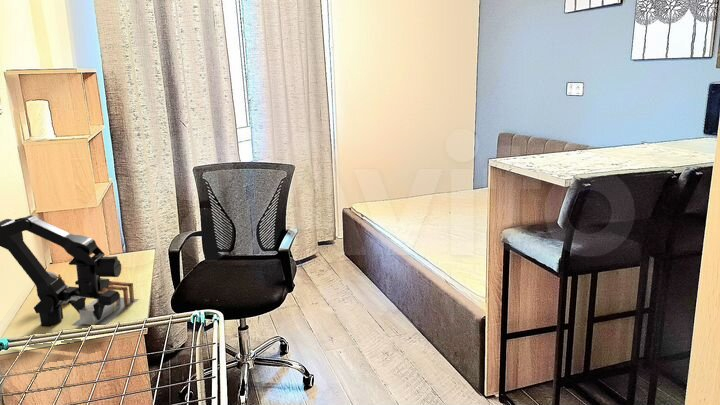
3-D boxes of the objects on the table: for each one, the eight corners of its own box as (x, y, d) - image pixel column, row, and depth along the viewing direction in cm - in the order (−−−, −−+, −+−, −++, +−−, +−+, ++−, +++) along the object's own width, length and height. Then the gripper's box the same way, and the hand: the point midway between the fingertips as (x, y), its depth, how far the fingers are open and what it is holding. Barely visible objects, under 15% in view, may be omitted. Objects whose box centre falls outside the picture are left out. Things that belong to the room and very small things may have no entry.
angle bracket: (132, 302, 188) (131, 284, 186) (109, 299, 189) (108, 282, 188) (134, 301, 189) (132, 283, 187) (111, 298, 190) (109, 280, 189)
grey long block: (94, 325, 170) (93, 310, 169) (79, 323, 171) (78, 309, 170) (121, 306, 184) (120, 293, 183) (107, 305, 185) (106, 291, 184)
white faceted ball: (70, 307, 184) (66, 277, 181) (40, 309, 182) (36, 278, 179) (77, 298, 191) (74, 269, 188) (49, 299, 190) (45, 269, 186)
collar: (127, 306, 185) (125, 288, 183) (103, 304, 186) (102, 285, 184) (128, 305, 186) (127, 287, 184) (105, 302, 187) (103, 284, 185)
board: (101, 330, 170) (101, 328, 169) (71, 327, 171) (71, 325, 171) (139, 301, 191) (139, 299, 191) (112, 298, 192) (112, 296, 192)
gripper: (127, 269, 175) (131, 310, 179) (77, 264, 177) (82, 305, 181) (107, 282, 164) (111, 325, 168) (54, 277, 167) (60, 320, 171)
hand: (91, 318), depth 173 cm, fingers closed on grey long block, 5 cm apart
